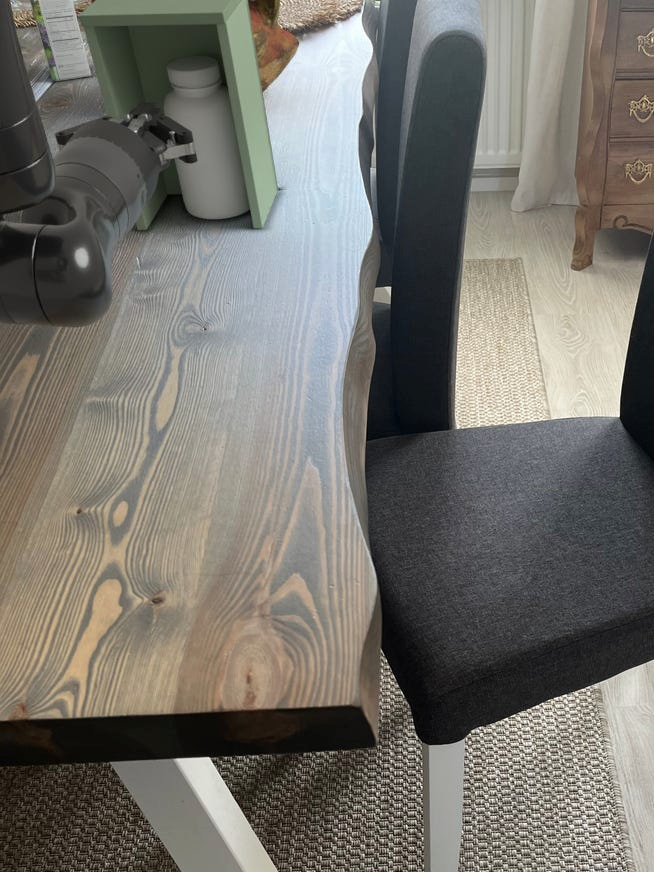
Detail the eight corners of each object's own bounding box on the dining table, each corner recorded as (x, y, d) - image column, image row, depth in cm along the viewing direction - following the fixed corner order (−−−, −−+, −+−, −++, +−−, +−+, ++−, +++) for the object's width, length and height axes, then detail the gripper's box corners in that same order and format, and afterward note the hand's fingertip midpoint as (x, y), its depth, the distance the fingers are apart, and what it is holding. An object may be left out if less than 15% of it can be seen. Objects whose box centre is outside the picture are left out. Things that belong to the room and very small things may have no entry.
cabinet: (261, 230, 111) (223, 12, 96) (136, 232, 111) (78, 15, 96) (279, 187, 119) (245, -19, 104) (162, 189, 120) (112, -16, 105)
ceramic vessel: (116, 97, 144) (60, -119, 127) (294, 75, 150) (264, -135, 132) (125, 136, 133) (65, -95, 115) (317, 111, 138) (289, -114, 120)
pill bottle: (212, 227, 112) (180, 79, 101) (172, 208, 116) (138, 63, 105) (270, 206, 116) (245, 61, 105) (230, 187, 120) (202, 46, 109)
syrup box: (49, 71, 154) (16, -41, 143) (89, 66, 155) (59, -46, 145) (53, 82, 150) (19, -33, 140) (94, 76, 151) (63, -38, 141)
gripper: (167, 137, 82) (211, 69, 94) (6, 138, 82) (70, 70, 94) (187, 229, 87) (226, 153, 99) (36, 229, 87) (93, 154, 99)
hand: (150, 113), depth 97 cm, fingers closed
